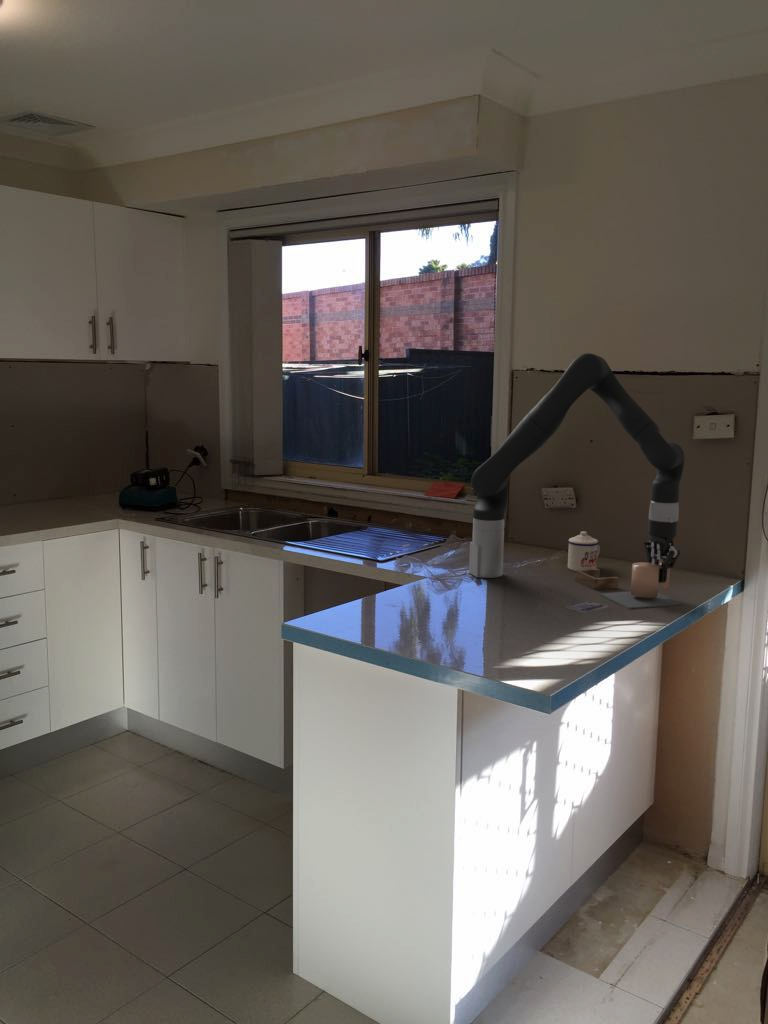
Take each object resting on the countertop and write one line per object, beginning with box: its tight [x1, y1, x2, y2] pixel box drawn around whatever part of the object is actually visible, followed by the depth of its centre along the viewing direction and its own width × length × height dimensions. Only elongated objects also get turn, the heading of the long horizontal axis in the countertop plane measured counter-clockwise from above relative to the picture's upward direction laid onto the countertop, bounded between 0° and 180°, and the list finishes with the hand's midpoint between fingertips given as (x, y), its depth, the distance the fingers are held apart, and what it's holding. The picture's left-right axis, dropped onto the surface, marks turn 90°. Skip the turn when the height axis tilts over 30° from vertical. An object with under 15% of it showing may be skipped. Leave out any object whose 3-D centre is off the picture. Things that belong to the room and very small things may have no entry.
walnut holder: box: [574, 568, 619, 590], centre depth 248 cm, size 8×11×3 cm
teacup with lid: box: [567, 531, 601, 572], centre depth 266 cm, size 12×9×12 cm
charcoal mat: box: [599, 590, 682, 610], centre depth 232 cm, size 16×14×1 cm
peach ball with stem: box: [630, 561, 671, 598], centre depth 232 cm, size 10×7×8 cm, turn 107°
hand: (659, 580), depth 233 cm, fingers closed on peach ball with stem
